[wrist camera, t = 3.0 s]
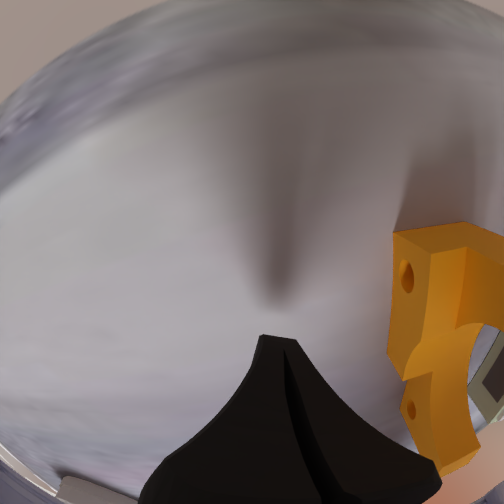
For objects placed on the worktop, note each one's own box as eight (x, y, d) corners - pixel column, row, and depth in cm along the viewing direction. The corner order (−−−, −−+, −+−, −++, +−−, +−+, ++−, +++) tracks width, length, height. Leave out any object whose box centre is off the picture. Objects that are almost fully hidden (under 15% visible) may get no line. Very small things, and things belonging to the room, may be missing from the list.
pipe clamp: (391, 231, 11) (492, 294, 5) (462, 220, 10) (560, 264, 4) (374, 414, 14) (402, 493, 8) (430, 396, 14) (467, 463, 8)
